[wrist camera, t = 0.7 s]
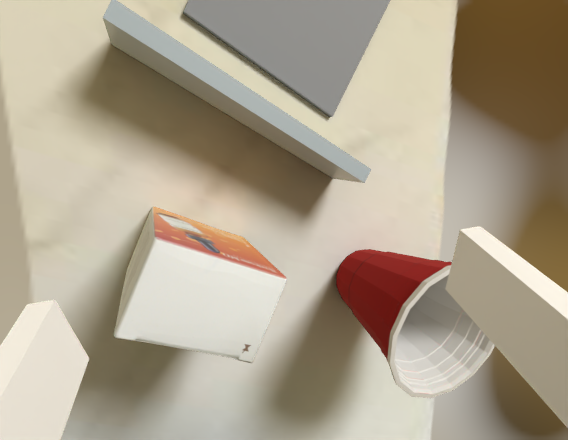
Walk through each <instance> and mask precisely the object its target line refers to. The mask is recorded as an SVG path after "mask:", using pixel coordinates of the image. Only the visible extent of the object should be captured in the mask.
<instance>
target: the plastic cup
mask: <svg viewBox="0 0 568 440" xmlns="http://www.w3.org/2000/svg"><path fill="white" fill-rule="evenodd" d="M451 264H452V262H443V261H439V260H429V259H424V258H418V257H413V256H408V255H403V254H397V253H392V252H381V251H376V250H371V249H368V250H359V251H355V252H354V253H352V254H350V255H349V256H347V257H346V258H345V260H344V261H343V262H342V263H341V265H340V267H339V270H338V272H337V275H336V286H337V289H338V291H339V294H340V295H341V298H342V299H343V300H344V302H345V303H346V304H347V305H348V306H349V308H350V309H351V310H352V312H353V314H354V315H355V317H356V318H357V319H358V320H359V322H360V323H361V324H362V325H363V327H364V328H365V329H366V330H367V332H368V333H369V334H370V336H371V337H372V338H373V339H374V341H375V342H376V343H377V344H378V346H379V347H380V348H381V351H382V353H383V354H384V355H385V357H386V358H387V361H388V363H389V366H390V369H391V372H392V375H393V378H394V380H395V382H396V384H397V385H398V386H399V387H400V388H401V389H403V390H404V391H405V392H407V393H408V394H409V395H410V396H413V397H424V398H433V397H435V396H438V395H441V394H444V393H447V392H450V391H453V390H454V389H455V388H456V387H458V386H459V385H460V384H462V383H463V382H465V381H466V380H467V379H469V378H470V377H471V376H473V375H474V373H475V372H476V371H477V370H478V369H479V367H480V366H481V365H482V364H483V363H484V362H485V360H486V359H487V358H488V357H489V356H490V354H491V352H492V350H493V348H494V346H495V345H494V344H493V343H492V342H491V340H490V339H489V338H488V337H487V336H486V335H485V334H484V332H483V331H482V330H481V329H480V328H479V327H478V326H477V324H476V323H475V322H474V321H473V320H472V319H471V318H470V317H469V315H468V314H467V313H466V312H465V311H464V310H463V309H462V307H461V306H460V305H459V304H458V303H457V302H456V301H455V300H454V298H453V297H452V296H451V295H450V294H449V293H448V292H447V290H446V289H445V288H446V284H447V280H448V276H449V272H450V268H451Z"/></svg>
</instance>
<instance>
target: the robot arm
mask: <svg viewBox="0 0 568 440" xmlns="http://www.w3.org/2000/svg"><path fill="white" fill-rule="evenodd" d="M445 289H446V290H447V292H448V293H449V294H450V295H451V296H452V297H453V298H454V300H455V301H456V302H457V303H458V304H459V305H460V306H461V307H462V309H463V310H464V311H465V312H466V313H467V314H468V315H469V317H470V318H471V319H472V320H473V321H474V322H475V323H476V324H477V326H478V327H479V328H480V329H481V330H482V331H483V332H484V334H485V335H486V336H487V337H488V338H489V339H490V340H491V342H492V343H493V344H494V345H495V346H496V347H497V348H498V349H499V351H500V352H501V353H502V354H503V355H504V356H505V357H506V359H507V360H508V361H509V362H510V363H511V364H512V365H513V366H514V368H515V369H516V370H517V371H518V372H519V373H520V374H521V375H522V377H523V378H524V379H525V380H526V381H527V382H528V384H530V386H531V387H532V388H533V389H534V390H535V391H536V393H537V394H538V395H539V396H540V397H541V398H542V399H543V401H544V402H545V403H546V404H547V405H548V406H549V407H550V408H551V410H552V411H553V412H554V413H555V414H556V415H557V416H558V418H559V419H560V420H561V421H562V422H563V423H564V424H565V425H566V427H567V428H568V293H567V292H566V291H565V290H563V289H562V288H561V287H560V286H558V285H557V284H556V283H554V282H553V281H552V280H550V279H549V278H548V277H546V276H545V275H544V274H542V273H541V272H540V271H538V270H537V269H535V268H534V267H533V266H532V265H530V264H529V263H528V262H526V261H525V260H524V259H523V258H521V257H520V256H519V255H517V254H516V253H515V252H513V251H512V250H511V249H509V248H508V247H507V246H505V245H504V244H503V243H501V242H500V241H499V240H497V239H496V238H495V237H494V236H492V235H491V234H490V233H488V232H487V231H486V230H484V229H483V228H482V227H473V228H468V229H462V230H460V233H459V236H458V240H457V244H456V248H455V252H454V256H453V260H452V264H451V268H450V272H449V276H448V280H447V284H446V288H445ZM88 361H89V357H88V355H87V354H86V352H85V350H84V349H83V347H82V345H81V343H80V342H79V340H78V338H77V336H76V335H75V333H74V331H73V330H72V328H71V326H70V324H69V323H68V321H67V319H66V317H65V316H64V314H63V312H62V311H61V309H60V307H59V305H58V304H57V302H56V300H49V301H43V302H37V303H32V304H27V305H26V307H25V309H24V310H23V312H22V313H21V315H20V316H19V318H18V319H17V321H16V323H15V324H14V326H13V327H12V329H11V330H10V332H9V333H8V335H7V337H6V338H5V340H4V341H3V343H2V344H1V346H0V440H61V437H62V434H63V432H64V429H65V426H66V423H67V420H68V417H69V415H70V412H71V409H72V406H73V403H74V401H75V398H76V395H77V392H78V389H79V387H80V384H81V381H82V378H83V375H84V372H85V370H86V367H87V364H88Z"/></svg>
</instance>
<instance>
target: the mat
mask: <svg viewBox="0 0 568 440" xmlns="http://www.w3.org/2000/svg"><path fill="white" fill-rule="evenodd" d="M389 2H390V0H189V1H188V3H187V5H186V7H185V9H184V11H183V13H184V14H185V15H186V16H188V17H189V18H191V19H192V20H193V21H195V22H196V23H198V24H199V25H201V26H202V27H203V28H205V29H206V30H208V31H209V32H210V33H212V34H213V35H215V36H216V37H218V38H219V39H220V40H222V41H223V42H225V43H226V44H228V45H229V46H230V47H232V48H233V49H235V50H236V51H237V52H239V53H240V54H242V55H243V56H245V57H246V58H247V59H249V60H250V61H252V62H253V63H254V64H256V65H257V66H259V67H260V68H262V69H263V70H264V71H266V72H267V73H269V74H270V75H272V76H273V77H274V78H276V79H277V80H279V81H280V82H281V83H283V84H284V85H286V86H287V87H289V88H290V89H291V90H293V91H294V92H296V93H297V94H298V95H300V96H301V97H303V98H304V99H306V100H307V101H308V102H310V103H311V104H313V105H314V106H316V107H317V108H318V109H320V110H321V111H323V112H324V113H325V114H327V115H328V116H330V117H332V116H333V115H334V113H335V111H336V109H337V107H338V105H339V103H340V101H341V99H342V97H343V94H344V92H345V90H346V88H347V86H348V84H349V82H350V80H351V78H352V76H353V74H354V72H355V70H356V68H357V66H358V64H359V62H360V60H361V58H362V56H363V54H364V52H365V50H366V48H367V46H368V44H369V42H370V40H371V38H372V36H373V34H374V32H375V30H376V28H377V26H378V24H379V22H380V20H381V18H382V16H383V14H384V12H385V10H386V8H387V6H388V4H389Z"/></svg>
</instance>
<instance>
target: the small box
mask: <svg viewBox="0 0 568 440" xmlns="http://www.w3.org/2000/svg"><path fill="white" fill-rule="evenodd" d="M286 282H287V278H286V277H285V276H284V275H283V274H282V273H281V272H280V271H279V270H278V269H277V268H276V267H275V266H273V265H272V264H271V263H270V262H269V261H268V260H267V259H266V258H265V257H264V256H263V255H262V254H261V253H260V252H259V251H257V250H256V249H255V248H254V247H253V246H252V245H251V244H250V243H249V242H248V241H247V240H246V239H245V238H243V237H241V236H238V235H235V234H231V233H228V232H225V231H222V230H219V229H216V228H213V227H210V226H207V225H205V224H202V223H199V222H196V221H194V220H191V219H188V218H185V217H182V216H180V215H177V214H174V213H171V212H168V211H165V210H163V209H160V208H157V207H152V209H151V211H150V213H149V216H148V218H147V220H146V223H145V225H144V228H143V230H142V233H141V235H140V237H139V240H138V242H137V245H136V247H135V250H134V253H133V255H132V258H131V260H130V263H129V266H128V268H127V271H126V276H125V281H124V286H123V291H122V295H121V301H120V306H119V311H118V316H117V321H116V326H115V330H114V337H115V338H117V339H125V340H132V341H140V342H146V343H152V344H158V345H163V346H169V347H175V348H180V349H186V350H191V351H197V352H202V353H207V354H213V355H218V356H223V357H227V358H232V359H236V360H240V361H244V362H248V363H252V362H253V360H254V358H255V356H256V353H257V351H258V349H259V346H260V344H261V342H262V339H263V337H264V334H265V332H266V330H267V327H268V325H269V323H270V320H271V318H272V315H273V313H274V311H275V308H276V306H277V303H278V301H279V299H280V296H281V294H282V291H283V289H284V286H285V284H286Z"/></svg>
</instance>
